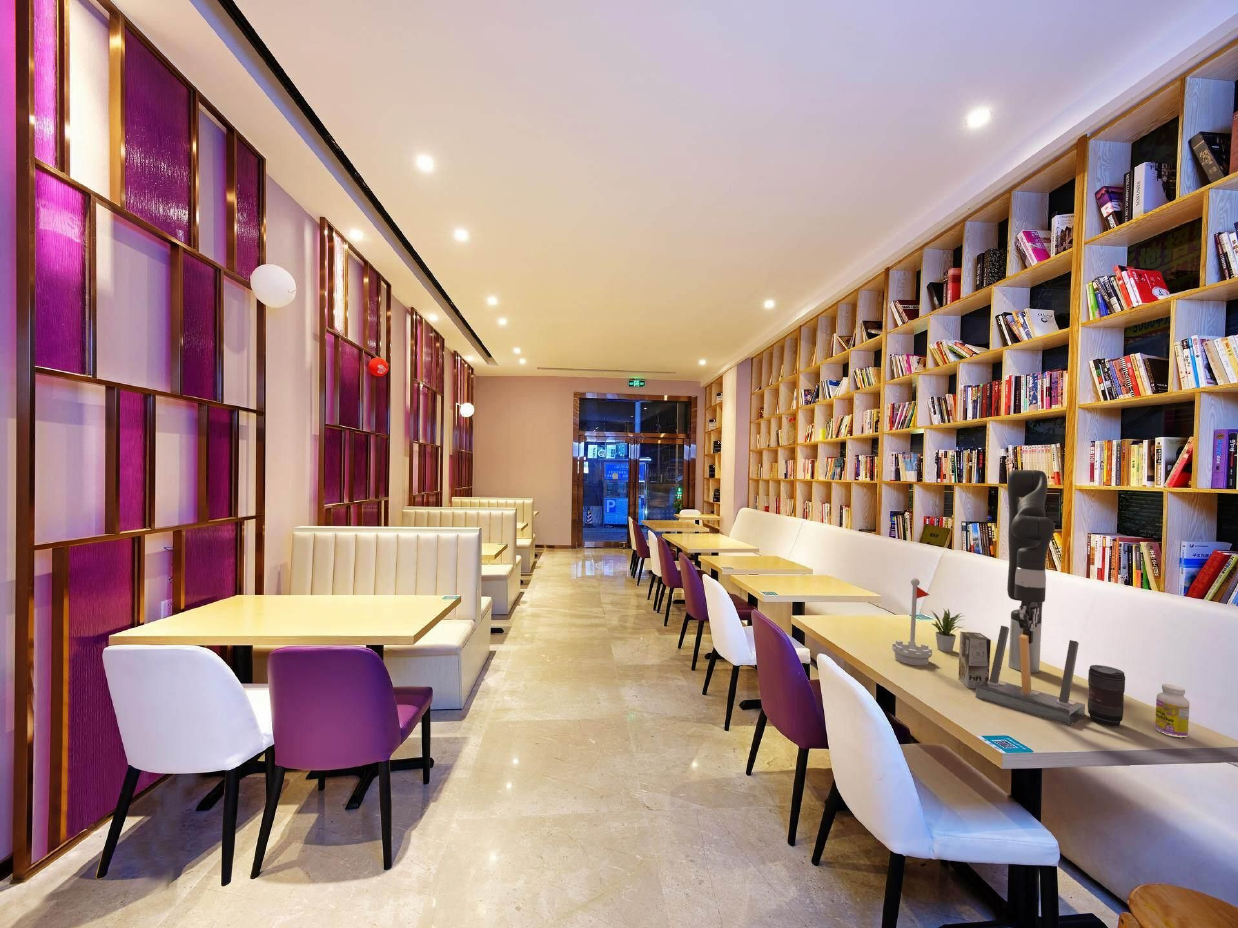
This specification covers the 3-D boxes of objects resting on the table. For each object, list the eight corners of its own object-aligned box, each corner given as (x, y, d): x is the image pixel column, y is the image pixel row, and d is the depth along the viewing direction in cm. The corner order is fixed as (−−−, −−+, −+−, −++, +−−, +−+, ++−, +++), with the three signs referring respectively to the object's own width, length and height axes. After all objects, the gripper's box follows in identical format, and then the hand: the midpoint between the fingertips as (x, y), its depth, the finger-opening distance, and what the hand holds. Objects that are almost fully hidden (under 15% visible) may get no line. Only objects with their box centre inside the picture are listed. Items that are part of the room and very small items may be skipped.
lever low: (988, 685, 188) (1001, 626, 193) (998, 688, 186) (1011, 628, 191) (986, 683, 187) (999, 625, 192) (996, 686, 185) (1009, 627, 190)
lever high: (1057, 705, 174) (1069, 641, 179) (1069, 708, 172) (1080, 643, 177) (1056, 703, 173) (1067, 639, 178) (1067, 706, 171) (1079, 641, 176)
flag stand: (885, 658, 221) (889, 576, 221) (900, 652, 230) (904, 573, 230) (922, 668, 212) (927, 582, 212) (937, 661, 220) (941, 579, 220)
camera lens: (1079, 718, 173) (1082, 665, 173) (1097, 714, 176) (1099, 663, 176) (1112, 729, 165) (1114, 675, 165) (1129, 726, 168) (1132, 672, 169)
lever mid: (1022, 692, 181) (1019, 633, 178) (1033, 695, 179) (1030, 636, 176) (1020, 695, 180) (1017, 636, 177) (1031, 698, 178) (1028, 638, 175)
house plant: (976, 657, 228) (978, 614, 228) (939, 655, 228) (941, 612, 229) (956, 646, 243) (958, 605, 243) (921, 644, 243) (923, 603, 243)
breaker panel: (993, 688, 194) (993, 676, 194) (1084, 714, 176) (1085, 701, 176) (975, 696, 186) (976, 684, 186) (1069, 725, 167) (1070, 711, 167)
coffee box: (989, 690, 192) (991, 639, 192) (967, 688, 193) (969, 637, 194) (978, 681, 201) (980, 632, 201) (957, 678, 202) (959, 630, 202)
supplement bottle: (1148, 728, 168) (1150, 681, 168) (1170, 728, 168) (1172, 682, 169) (1172, 739, 161) (1174, 690, 161) (1194, 739, 162) (1197, 691, 162)
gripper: (1023, 580, 185) (1021, 636, 185) (1007, 583, 177) (1004, 642, 177) (1052, 584, 179) (1050, 642, 179) (1037, 588, 171) (1034, 649, 171)
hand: (1027, 642), depth 178 cm, fingers closed
